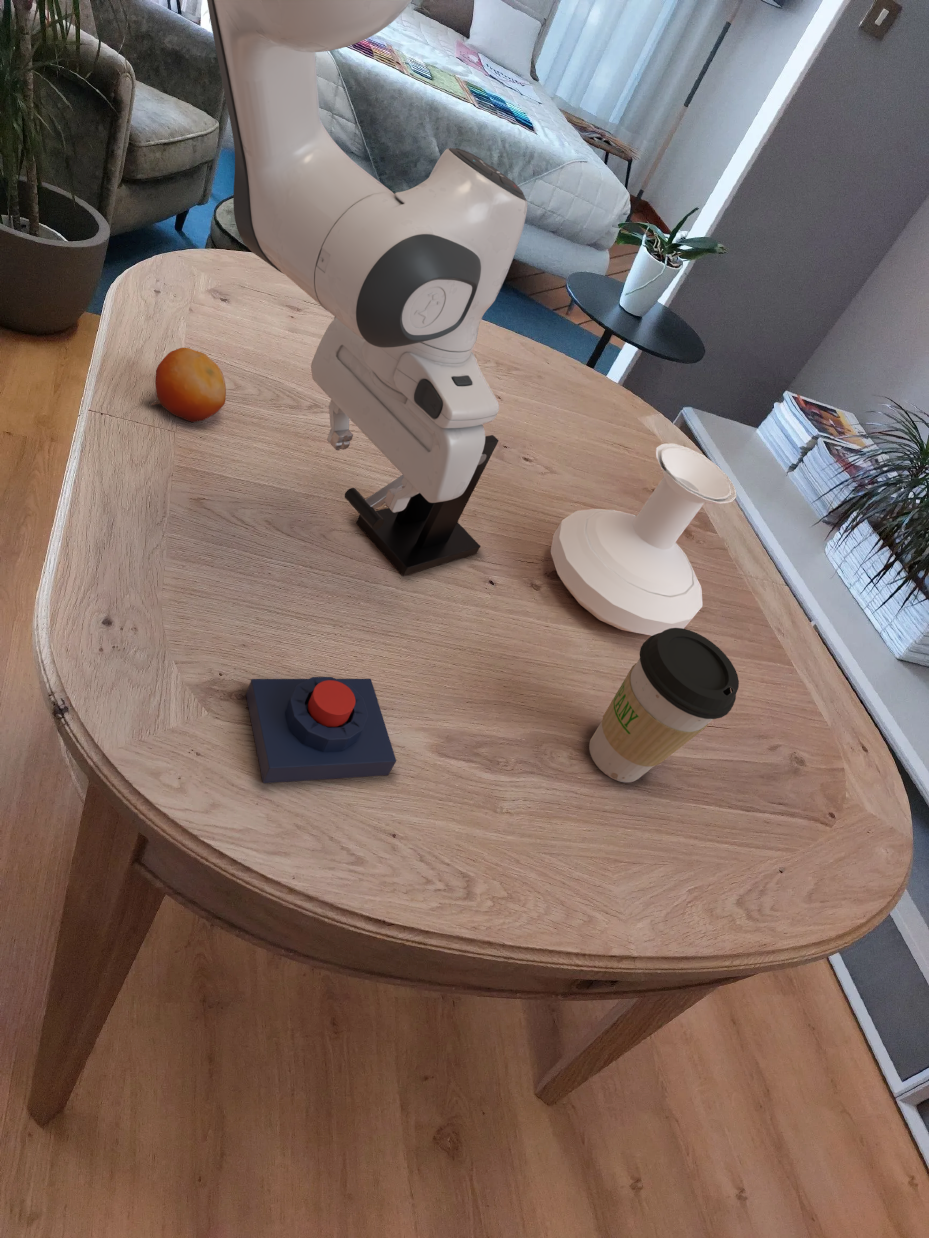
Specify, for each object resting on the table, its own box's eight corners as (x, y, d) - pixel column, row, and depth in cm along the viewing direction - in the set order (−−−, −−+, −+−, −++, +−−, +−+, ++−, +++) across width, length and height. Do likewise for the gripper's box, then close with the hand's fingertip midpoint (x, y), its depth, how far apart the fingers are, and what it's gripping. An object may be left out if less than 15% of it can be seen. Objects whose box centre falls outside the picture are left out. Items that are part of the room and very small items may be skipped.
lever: (374, 534, 86) (371, 522, 83) (346, 503, 87) (342, 490, 85) (488, 456, 89) (488, 442, 87) (459, 427, 91) (458, 413, 89)
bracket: (403, 576, 92) (457, 462, 82) (355, 522, 95) (402, 407, 85) (476, 554, 100) (534, 448, 90) (430, 505, 103) (481, 397, 93)
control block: (262, 783, 67) (274, 755, 65) (245, 694, 73) (256, 665, 70) (388, 775, 73) (403, 748, 70) (363, 693, 78) (377, 665, 76)
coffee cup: (608, 704, 91) (684, 610, 81) (674, 772, 87) (762, 682, 78) (554, 739, 84) (631, 641, 74) (624, 814, 80) (714, 721, 71)
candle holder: (581, 654, 95) (674, 527, 83) (515, 533, 106) (587, 407, 94) (707, 651, 105) (806, 539, 93) (634, 542, 117) (713, 429, 104)
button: (312, 728, 68) (318, 715, 67) (303, 693, 71) (309, 680, 69) (353, 726, 70) (359, 714, 69) (344, 692, 72) (350, 679, 71)
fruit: (153, 363, 98) (197, 326, 95) (202, 416, 102) (247, 382, 98) (123, 394, 92) (169, 355, 89) (176, 448, 96) (223, 413, 92)
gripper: (319, 285, 75) (279, 413, 83) (463, 426, 67) (403, 550, 76) (372, 286, 79) (329, 408, 88) (512, 419, 72) (450, 537, 81)
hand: (364, 475), depth 82 cm, fingers open, 8 cm apart
